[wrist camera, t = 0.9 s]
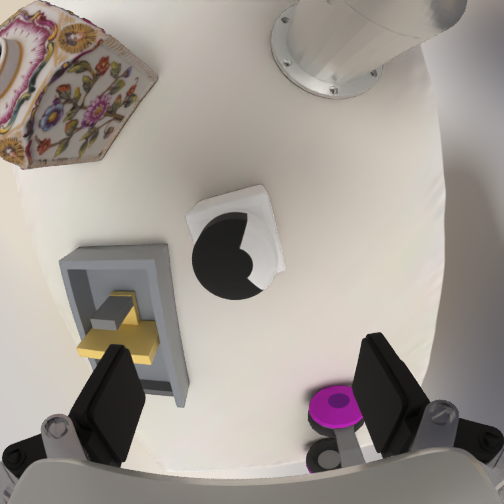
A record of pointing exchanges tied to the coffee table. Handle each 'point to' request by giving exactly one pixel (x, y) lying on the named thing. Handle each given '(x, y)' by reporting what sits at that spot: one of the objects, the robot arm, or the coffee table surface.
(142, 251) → the gray tray
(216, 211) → the medicine bottle
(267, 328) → the coffee table surface
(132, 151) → the coffee table surface
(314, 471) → the headphones
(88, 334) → the pusher
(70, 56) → the decorative jar
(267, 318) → the coffee table surface
